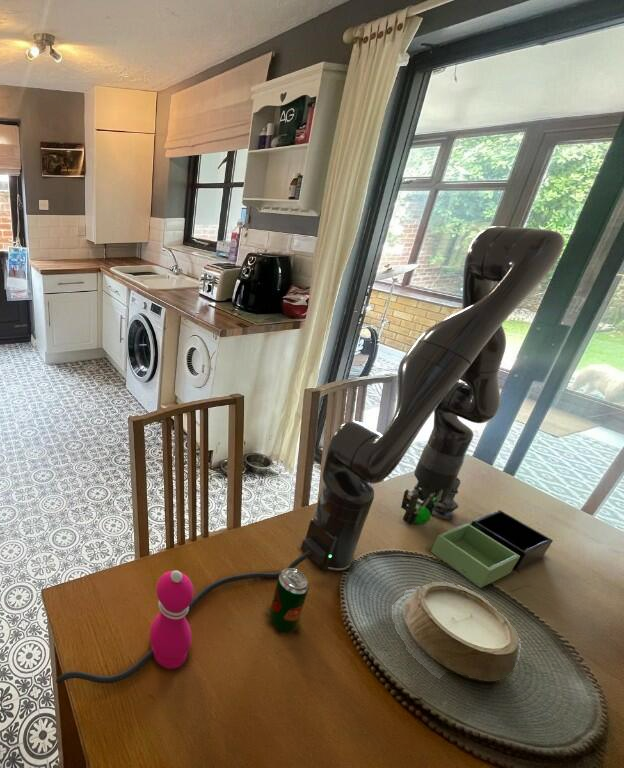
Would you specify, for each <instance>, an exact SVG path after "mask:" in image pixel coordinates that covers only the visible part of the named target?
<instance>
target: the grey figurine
mask: <svg viewBox="0 0 624 768" xmlns="http://www.w3.org/2000/svg"><path fill="white" fill-rule="evenodd" d="M461 482H462V481H461V479H460V478H459V477H457V478H456V480H455V482H454V484H453V486H452V487H451V489H450V491H449V492H448V494H447V496H446V497H445V499H444V501H443V502H442V503H439V502H438V505H437V506H436V507H434V509H433V512H432V514H431V516H433V517H436V518H438V519H442V520H451V519H452V517H453V515H452V512H454V511H455V510H457V509H459V503H458V502H457V501H456V500H455V497H456V495H458V494H459V490H458V489H459V488H460V485H461ZM441 495H442V494H441Z"/></svg>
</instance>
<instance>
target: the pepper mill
mask: <svg viewBox="0 0 624 768" xmlns="http://www.w3.org/2000/svg"><path fill="white" fill-rule="evenodd" d="M194 593H195V590H194V586H193V583H192V581H191V579H190V578H189V577H188V576H187V575H186V574H185V573H183V572H181V571H180V570H169V571H167V572H164V573H162V575H161V576H160V578H159V579H158V581H157V584H156V596H157V599H158V608H159V610H160V612H159V613H158V614H157V615H156V616H155V618H154V619H153V621H152V623H151V625H150V629H149V639H150V640H149V641H150V643H151V649H152V650H153V653H154V656H153V657H152V658H153V659H154V660H155V661H156V663H157V664H158V665H160V666H161V667H163V668H165V669H171V670H173V669H177V668H179V667H181V666H182V665H183V664H184V663H185V661H186V659H187V655H188V652H189V650H190V648H191V645H192V630H191V626H190V623H189V622H188V619H187V618H186V616H187V615H188V613H189V612H188V610H189V605H190V604H191V602H192V600H193V598H194V597H195V595H194ZM186 614H187V615H186ZM185 615H186V616H185Z"/></svg>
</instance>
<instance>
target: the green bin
mask: <svg viewBox="0 0 624 768" xmlns="http://www.w3.org/2000/svg"><path fill="white" fill-rule="evenodd" d="M430 553H432V554H434V555H435V556H436V557H438V558H439V559H441V561H443V562H445V563H446V564H447V565H448V566H450V567H451V568H452V569H454V570H455V571H457V572H458V573H459V574H461V575H462V576H464V577H465V578H466V579H467V580H468V581H470V582H472V583H473V584H474V585H476V586H477V587H479V588H481V589H482V588H484V587H485V586H487V585H489V584H492V583H493V582H496V581H498V580H499V579H502V578H503V577H505V576H507V575H509V574H511V573H512V571H513V570H514V569H513V568H514V566H515V564H516V563H517V561H518V559H519V558H520V556H519V555H518V554H516V553H514V552H513V551H511V550H510V549H508V548H506V547H505V546H503V545H502V544H500V543H499V542H497V541H495V540H494V539H492V538H491V537H489V536H487V535H486V534H484V533H483V532H481V531H479V530H478V529H476V528H475V527H473V526H471V523H465V524H462V525H460V526H457V527H455V528H453V529H452V528H451V529H450V530H448V531H445V532H443V533H440V534H438V535H437V538H436V540H435V541H434V544H433V546H432V548H431V550H430ZM460 568H461V569H463V570H464V571H466V572H467V573H466V572H464V571H463V570H461V569H460Z"/></svg>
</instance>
